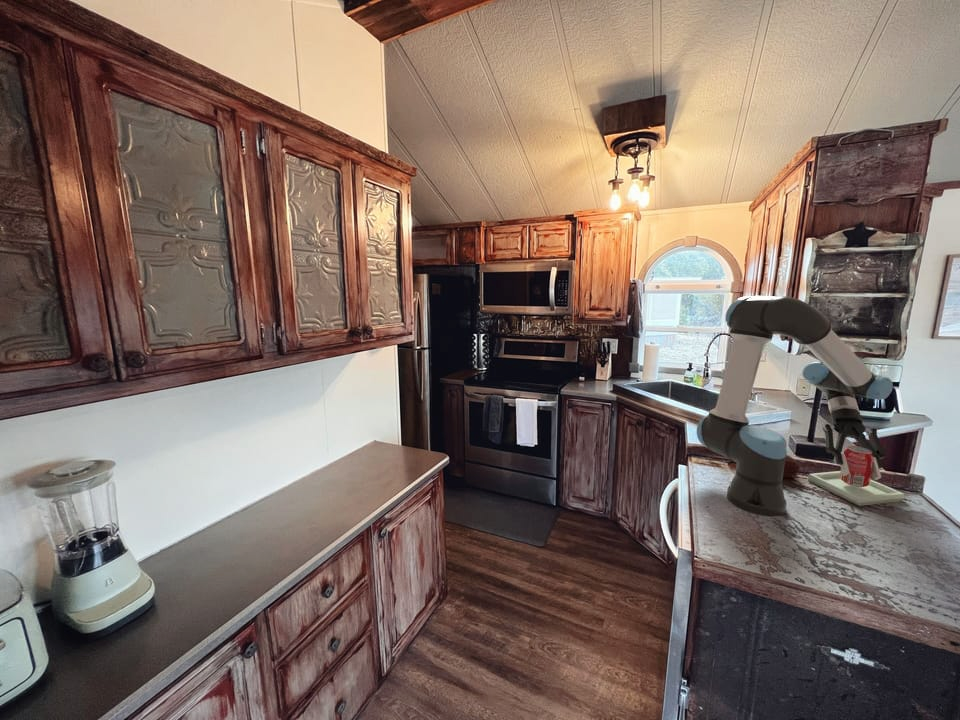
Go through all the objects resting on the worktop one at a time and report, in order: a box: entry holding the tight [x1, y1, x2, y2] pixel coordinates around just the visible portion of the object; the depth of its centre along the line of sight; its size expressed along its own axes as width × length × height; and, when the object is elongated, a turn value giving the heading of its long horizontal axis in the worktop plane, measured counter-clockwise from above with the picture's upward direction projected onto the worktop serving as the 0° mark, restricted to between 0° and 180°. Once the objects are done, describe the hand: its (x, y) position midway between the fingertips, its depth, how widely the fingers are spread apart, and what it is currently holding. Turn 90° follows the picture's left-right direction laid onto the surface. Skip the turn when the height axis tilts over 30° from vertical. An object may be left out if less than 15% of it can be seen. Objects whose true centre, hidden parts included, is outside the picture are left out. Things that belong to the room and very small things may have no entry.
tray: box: [807, 470, 905, 507], centre depth 125 cm, size 16×16×2 cm
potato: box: [783, 454, 801, 478], centre depth 135 cm, size 12×11×8 cm
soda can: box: [840, 445, 874, 487], centre depth 124 cm, size 7×7×12 cm
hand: (861, 476), depth 121 cm, fingers closed on soda can, 7 cm apart
